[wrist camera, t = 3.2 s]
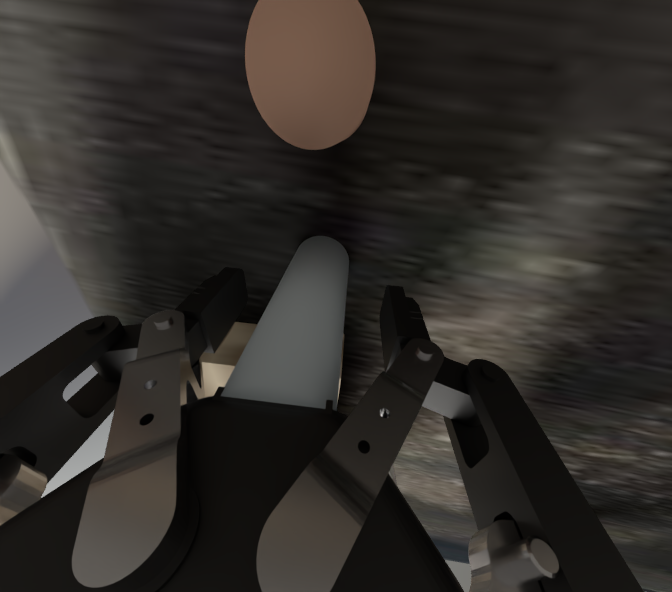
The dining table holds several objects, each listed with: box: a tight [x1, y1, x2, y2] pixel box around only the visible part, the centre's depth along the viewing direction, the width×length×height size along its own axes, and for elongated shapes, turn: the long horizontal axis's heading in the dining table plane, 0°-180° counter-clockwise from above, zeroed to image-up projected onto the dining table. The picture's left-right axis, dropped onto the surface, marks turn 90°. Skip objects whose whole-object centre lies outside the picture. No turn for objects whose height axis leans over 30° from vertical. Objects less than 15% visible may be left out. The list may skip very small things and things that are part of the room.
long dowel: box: [221, 236, 349, 411], centre depth 11 cm, size 3×3×10 cm
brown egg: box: [245, 0, 376, 150], centre depth 8 cm, size 3×3×5 cm
